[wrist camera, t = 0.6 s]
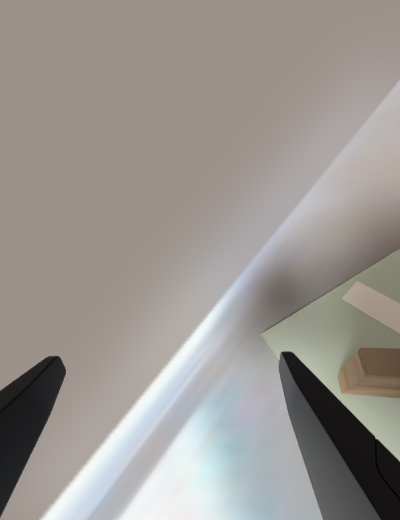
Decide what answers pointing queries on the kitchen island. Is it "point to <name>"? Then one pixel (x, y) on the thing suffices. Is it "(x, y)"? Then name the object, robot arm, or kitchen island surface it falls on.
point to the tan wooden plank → (372, 373)
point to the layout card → (350, 340)
